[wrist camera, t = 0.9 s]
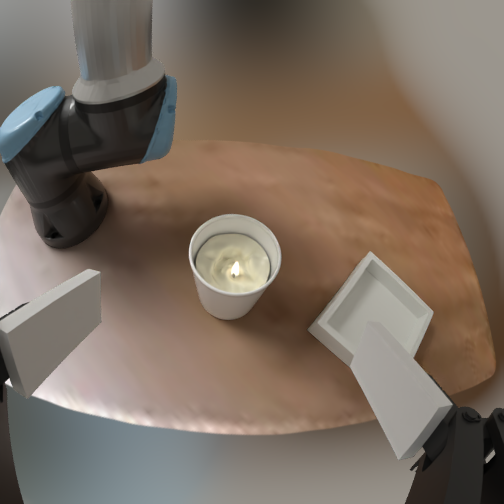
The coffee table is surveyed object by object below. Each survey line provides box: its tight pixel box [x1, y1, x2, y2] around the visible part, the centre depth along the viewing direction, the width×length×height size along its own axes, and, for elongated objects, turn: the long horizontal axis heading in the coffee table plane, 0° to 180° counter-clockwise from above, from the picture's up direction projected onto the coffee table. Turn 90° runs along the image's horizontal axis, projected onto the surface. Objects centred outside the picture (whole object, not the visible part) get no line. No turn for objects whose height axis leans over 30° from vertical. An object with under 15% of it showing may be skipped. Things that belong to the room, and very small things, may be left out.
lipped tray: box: [307, 251, 434, 367], centre depth 38 cm, size 16×16×4 cm
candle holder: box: [189, 214, 281, 320], centre depth 34 cm, size 10×10×12 cm
